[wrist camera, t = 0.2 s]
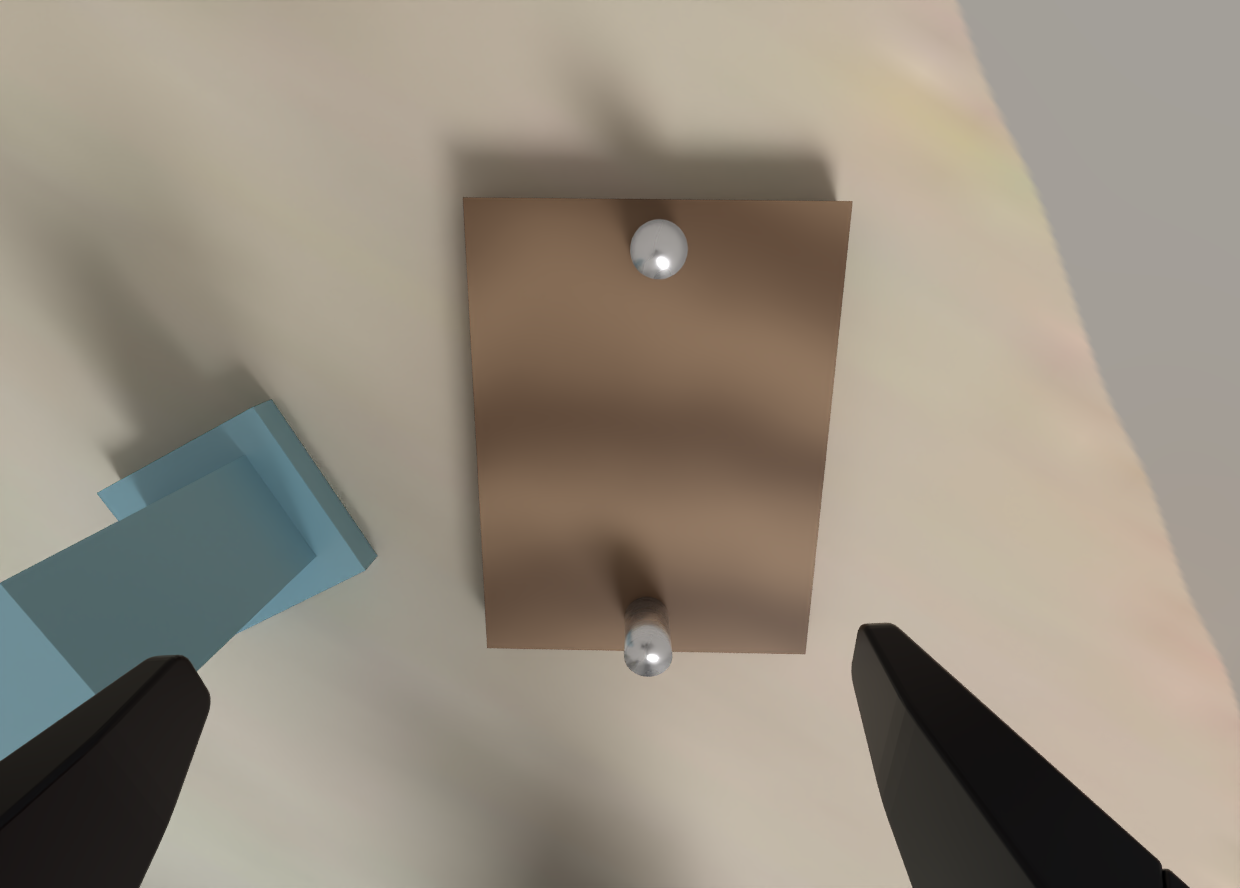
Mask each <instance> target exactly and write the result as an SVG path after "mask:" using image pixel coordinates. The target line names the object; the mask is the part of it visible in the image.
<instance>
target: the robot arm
mask: <svg viewBox="0 0 1240 888" xmlns="http://www.w3.org/2000/svg"><path fill="white" fill-rule="evenodd" d="M851 672H852V681H853V686H854V690H855V694H856V698H857V702H858V707H859V711H860V715H861V719H862V723H863V727H864V731H865V735H866V739H867V743H868V748H869V752H870V756H871V760H872V764H873V768H874V772H875V776H876V780H877V784H878V788H879V792H880V796H881V799H882V803H883V806H884V809H885V812H886V815H887V818H888V821H889V824H890V826H891V829H892V832H893V835H894V837H895V840H896V843H897V846H898V849H899V851H900V854H901V857H902V860H903V862H904V865H905V868H906V871H907V874H908V876H909V879H910V882H911V885H912V887H913V888H1190V887H1188V886H1187V885H1186V884H1185V883H1184V882H1183V881H1182V880H1181V879H1180V878H1178V877H1177V876H1176V875H1175V874H1174V873H1173V872H1172V871H1170V870H1169V869H1162V865H1161V863H1160V861H1159V860H1158V859H1157V858H1156V857H1154V856H1153V855H1152V854H1151V853H1150V852H1149V851H1148V850H1147V849H1146V848H1144V847H1143V846H1142V845H1141V844H1140V843H1139V842H1138V841H1137V840H1135V839H1134V838H1133V837H1132V836H1131V835H1130V834H1129V833H1128V832H1127V831H1125V830H1124V829H1123V828H1122V827H1121V826H1120V825H1119V824H1118V823H1116V822H1115V821H1114V820H1113V819H1112V818H1111V817H1110V816H1109V815H1108V814H1106V813H1105V812H1104V811H1103V810H1102V809H1101V808H1100V807H1099V806H1097V805H1096V804H1095V803H1094V802H1093V801H1092V800H1091V799H1090V798H1089V797H1087V796H1086V795H1085V794H1084V793H1083V792H1082V791H1081V790H1080V789H1078V788H1077V787H1076V786H1075V785H1074V784H1073V783H1072V782H1071V781H1070V780H1068V779H1067V778H1066V777H1065V776H1064V775H1063V774H1062V773H1061V772H1059V771H1058V770H1057V769H1056V768H1055V767H1054V766H1053V765H1052V764H1051V763H1049V762H1048V761H1047V760H1046V759H1045V758H1044V757H1043V756H1042V755H1040V754H1039V753H1038V752H1037V751H1036V750H1035V749H1034V748H1033V747H1031V746H1030V745H1029V744H1028V743H1027V742H1026V741H1025V740H1024V739H1023V738H1021V737H1020V736H1019V735H1018V734H1017V733H1016V732H1015V731H1014V730H1012V729H1011V728H1010V727H1009V726H1008V725H1007V724H1006V723H1005V722H1004V721H1002V720H1001V719H1000V718H999V717H998V716H997V715H996V714H995V713H993V712H992V711H991V710H990V709H989V708H988V707H987V706H986V705H985V704H983V703H982V702H981V701H980V700H979V699H978V698H977V697H976V696H974V695H973V694H972V693H971V692H970V691H969V690H968V689H967V688H966V687H964V686H963V685H962V684H961V683H960V682H959V681H958V680H957V679H955V678H954V677H953V676H952V675H951V674H950V673H949V672H948V671H947V670H945V669H944V668H943V667H942V666H941V665H940V664H939V663H938V662H936V661H935V660H934V659H933V658H932V657H931V656H930V655H929V654H928V653H926V652H925V651H924V650H923V649H922V648H921V647H920V646H919V645H917V644H916V643H915V642H914V641H913V640H912V639H911V638H910V637H908V636H907V635H906V634H905V633H904V632H903V631H902V630H901V629H900V628H898V627H897V626H896V625H894V624H891V623H870V624H863V625H861V626H860V628H859V630H858V633H857V639H856V644H855V650H854V655H853V661H852V670H851ZM209 709H210V694H209V691H208V689H207V688H206V686H205V684H204V683H203V681H202V680H201V678H200V676H199V675H198V673H197V671H196V670H195V668H194V666H193V665H192V663H191V661H190V660H189V659H188V658H187V657H185V656H183V655H159V656H153V657H150V658H148V659H146V660H144V661H143V662H141V663H140V664H138V665H137V666H136V667H134V668H133V669H131V670H130V671H128V672H127V673H125V674H124V675H123V676H121V677H120V678H118V679H117V680H115V681H114V682H113V683H111V684H110V685H108V686H107V687H105V688H104V689H103V690H101V691H100V692H98V693H97V694H95V695H94V696H93V697H91V698H90V699H88V700H87V701H85V702H84V703H83V704H81V705H80V706H78V707H77V708H75V709H74V710H73V711H71V712H70V713H68V714H67V715H65V716H64V717H63V718H61V719H60V720H58V721H57V722H55V723H54V724H52V725H51V726H50V727H48V728H47V729H45V730H44V731H42V732H41V733H40V734H38V735H37V736H35V737H34V738H32V739H31V740H30V741H28V742H27V743H25V744H24V745H22V746H21V747H20V748H18V749H17V750H15V751H14V752H12V753H11V754H10V755H8V756H7V757H5V758H4V759H2V760H1V761H0V888H139V887H140V885H141V883H142V881H143V879H144V877H145V874H146V872H147V870H148V868H149V866H150V864H151V862H152V859H153V857H154V855H155V853H156V851H157V849H158V846H159V844H160V842H161V840H162V837H163V835H164V833H165V831H166V828H167V826H168V823H169V821H170V818H171V816H172V813H173V810H174V808H175V805H176V803H177V800H178V797H179V794H180V791H181V789H182V786H183V783H184V780H185V777H186V775H187V772H188V769H189V766H190V763H191V761H192V758H193V755H194V752H195V749H196V747H197V744H198V741H199V738H200V735H201V733H202V730H203V727H204V724H205V722H206V719H207V716H208V713H209Z"/></svg>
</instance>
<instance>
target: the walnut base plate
mask: <svg viewBox="0 0 1240 888" xmlns="http://www.w3.org/2000/svg"><path fill="white" fill-rule="evenodd" d="M852 202H853V201H772V200H671V199H569V198H468V197H463V208H464V226H465V245H466V263H467V282H468V301H469V319H470V338H471V356H472V375H473V394H474V412H475V431H476V449H477V468H478V486H479V505H480V524H481V542H482V561H483V579H484V598H485V616H486V635H487V648H511V649H563V650H615V651H624V644H625V612H626V609H627V607H628V605H629V604H630V603H631V602H632V601H634V600H635V599H637V598H640V597H653V598H656V599H658V600H660V601H661V602H662V603H663V604H664V605H665V606H666V608H667V611H668V618H669V628H670V638H671V648H672V652H719V653H771V654H805V652H806V643H807V633H808V623H809V614H810V604H811V595H812V585H813V576H814V566H815V556H816V547H817V537H818V528H819V518H820V509H821V499H822V489H823V480H824V470H825V461H826V451H827V441H828V432H829V422H830V413H831V403H832V394H833V384H834V374H835V365H836V355H837V346H838V336H839V327H840V317H841V307H842V298H843V288H844V279H845V269H846V260H847V250H848V240H849V231H850V221H851V212H852ZM656 219H663V220H668V221H670V222H672V223H674V224H676V225H677V226H678V227H679V228H680V229H681V230H682V232H683V233H684V235H685V237H686V240H687V245H688V252H687V258H686V260H685V263H684V265H683V266H682V268H681V269H680V270H679V271H678V272H677V273H676V274H674V275H673V276H671V277H668V278H665V279H652V278H649V277H646V276H644V275H643V274H641V273H640V272H639V271H638V270H637V268H636V267H635V266H634V264H633V262H632V259H631V254H630V245H631V241H632V238H633V236H634V234H635V232H636V231H637V230H638V228H639V227H641V226H642V225H643V224H645V223H646V222H648V221H651V220H656Z"/></svg>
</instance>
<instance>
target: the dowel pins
mask: <svg viewBox="0 0 1240 888" xmlns="http://www.w3.org/2000/svg"><path fill="white" fill-rule="evenodd" d="M687 252H688V245H687V240H686V237H685V235H684V233H683V232H682V230H681V229H680V228H679V227H678V226H677V225H676V224H674V223H672V222H670V221H668V220H663V219H656V220H651V221H648V222H646V223H645V224H643V225H642V226H641V227H639V228H638V230H637V231H636V232H635V234H634V236H633V238H632V241H631V245H630V254H631V259H632V262H633V264H634V266H635V267H636V268H637V270H638V271H639V272H640V273H641V274H643V275H644V276H646V277H649V278H652V279H665V278H668V277H671V276H673V275H674V274H676V273H677V272H678V271H679V270H680V269H681V268H682V266H683V265H684V263H685V260H686V258H687ZM624 658H625V662H626V664H627V666H628V667H629V669H630V670H631V671H633V672H634V673H636V674H638V675H641V676H647V677H648V676H656V675H658V674H661V673H662V672H664V671H665V670H666V669H667V668H668V667H669V665H670V663H671V661H672V648H671V638H670V628H669V618H668V611H667V608H666V606H665V605H664V604H663V603H662V602H661V601H660V600H658V599H656V598H653V597H640V598H637V599H635V600H634V601H632V602H631V603H630V604H629V605H628V607H627V609H626V612H625V644H624Z"/></svg>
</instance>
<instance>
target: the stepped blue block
mask: <svg viewBox="0 0 1240 888" xmlns="http://www.w3.org/2000/svg"><path fill="white" fill-rule="evenodd" d="M97 494H98V496H99V497H100V498H101V499H102V501H103V502H104V503H105V504H106V506H107V507H108V508H109V510H110V511H111V512H112V513H113V515H114V516H115V517H116V519H117V520H118V522H116V523H114V524H112V525H110V526H108V527H106V528H104V529H102V530H101V531H99V532H97V533H95V534H93V535H91V536H89V537H87V538H85V539H83V540H81V541H79V542H77V543H76V544H74V545H72V546H70V547H68V548H66V549H64V550H62V551H60V552H58V553H56V554H54V555H53V556H51V557H49V558H47V559H45V560H43V561H41V562H39V563H37V564H35V565H33V566H31V567H29V568H28V569H26V570H24V571H22V572H20V573H18V574H16V575H14V576H12V577H10V578H8V579H6V580H5V581H3V582H1V583H0V761H1V760H2V759H4V758H5V757H7V756H8V755H10V754H11V753H12V752H14V751H15V750H17V749H18V748H20V747H21V746H22V745H24V744H25V743H27V742H28V741H30V740H31V739H32V738H34V737H35V736H37V735H38V734H40V733H41V732H42V731H44V730H45V729H47V728H48V727H50V726H51V725H52V724H54V723H55V722H57V721H58V720H60V719H61V718H63V717H64V716H65V715H67V714H68V713H70V712H71V711H73V710H74V709H75V708H77V707H78V706H80V705H81V704H83V703H84V702H85V701H87V700H88V699H90V698H91V697H93V696H94V695H95V694H97V693H98V692H100V691H101V690H103V689H104V688H105V687H107V686H108V685H110V684H111V683H113V682H114V681H115V680H117V679H118V678H120V677H121V676H123V675H124V674H125V673H127V672H128V671H130V670H131V669H133V668H134V667H136V666H137V665H138V664H140V663H141V662H143V661H144V660H146V659H148V658H150V657H153V656H159V655H183V656H185V657H187V658H188V659H189V660H190V661H191V663H192V665H193V666H194V668H195V670H196V671H198V670H199V669H200V668H201V667H202V666H203V665H204V664H205V663H206V662H207V661H208V660H209V659H210V658H211V657H212V656H213V655H214V654H215V653H216V652H217V651H219V650H220V649H221V648H222V647H223V646H224V645H225V644H226V643H227V642H228V641H229V640H230V639H231V638H232V637H233V636H234V635H235V634H237V633H239V632H241V631H243V630H245V629H247V628H249V627H251V626H253V625H255V624H257V623H259V622H261V621H264V620H266V619H268V618H270V617H272V616H274V615H276V614H278V613H280V612H282V611H284V610H286V609H288V608H290V607H292V606H294V605H296V604H298V603H300V602H302V601H304V600H306V599H308V598H310V597H312V596H314V595H316V594H318V593H320V592H322V591H324V590H326V589H328V588H331V587H333V586H335V585H337V584H339V583H341V582H343V581H345V580H347V579H349V578H351V577H353V576H355V575H357V574H359V573H361V572H363V571H365V570H366V569H367V568H368V567H369V565H370V564H371V563H372V562H373V561H374V559H375V558H376V557H377V555H376V553H375V552H374V550H373V549H372V547H371V546H370V544H369V543H368V541H367V540H366V538H365V537H364V535H363V534H362V532H361V531H360V529H359V528H358V526H357V525H356V523H355V522H354V521H353V519H352V518H351V516H350V515H349V513H348V512H347V510H346V509H345V507H344V506H343V504H342V503H341V501H340V500H339V498H338V497H337V495H336V494H335V492H334V491H333V490H332V488H331V487H330V485H329V484H328V482H327V481H326V479H325V478H324V476H323V475H322V473H321V472H320V470H319V469H318V467H317V466H316V464H315V463H314V461H313V460H312V458H311V457H310V456H309V454H308V453H307V451H306V450H305V448H304V447H303V445H302V444H301V442H300V441H299V439H298V438H297V436H296V435H295V433H294V432H293V430H292V429H291V427H290V426H289V425H288V423H287V422H286V420H285V419H284V417H283V416H282V414H281V413H280V411H279V410H278V408H277V407H276V405H275V404H274V402H273V401H272V399H271V400H269V401H266V402H264V403H261V404H259V405H256V406H254V407H252V408H250V409H248V410H246V411H245V412H243V413H241V414H239V415H237V416H235V417H234V418H232V419H230V420H228V421H226V422H225V423H223V424H221V425H219V426H217V427H216V428H214V429H212V430H210V431H208V432H207V433H205V434H203V435H201V436H199V437H197V438H196V439H194V440H192V441H190V442H188V443H187V444H185V445H183V446H181V447H179V448H178V449H176V450H174V451H172V452H170V453H169V454H167V455H165V456H163V457H161V458H159V459H158V460H156V461H154V462H152V463H150V464H149V465H147V466H145V467H143V468H141V469H140V470H138V471H136V472H134V473H132V474H131V475H129V476H127V477H125V478H123V479H121V480H120V481H118V482H116V483H114V484H112V485H111V486H109V487H107V488H105V489H103V490H102V491H100V492H98V493H97Z"/></svg>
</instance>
